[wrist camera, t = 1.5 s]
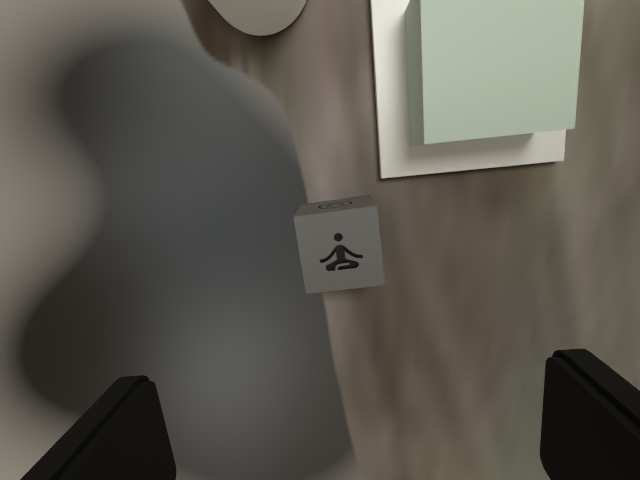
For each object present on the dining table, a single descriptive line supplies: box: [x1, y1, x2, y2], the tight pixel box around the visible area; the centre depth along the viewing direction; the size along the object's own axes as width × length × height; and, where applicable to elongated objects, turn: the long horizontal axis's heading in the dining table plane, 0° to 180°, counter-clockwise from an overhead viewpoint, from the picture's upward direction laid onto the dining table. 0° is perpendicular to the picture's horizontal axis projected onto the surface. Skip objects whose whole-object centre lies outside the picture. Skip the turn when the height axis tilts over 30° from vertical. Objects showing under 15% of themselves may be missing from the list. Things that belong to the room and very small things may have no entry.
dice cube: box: [293, 195, 385, 294], centre depth 23 cm, size 5×5×5 cm
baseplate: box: [370, 0, 566, 178], centre depth 22 cm, size 12×12×1 cm
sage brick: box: [405, 0, 584, 145], centre depth 20 cm, size 8×8×4 cm
